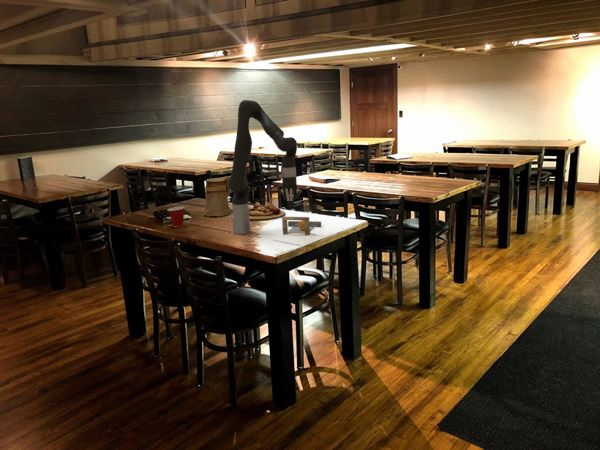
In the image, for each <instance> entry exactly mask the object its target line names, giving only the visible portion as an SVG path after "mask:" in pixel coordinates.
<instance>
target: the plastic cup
mask: <svg viewBox="0 0 600 450" xmlns="http://www.w3.org/2000/svg"><path fill="white" fill-rule="evenodd" d="M167 212H168V214H169V216H170V220H171V223H172V225H173V227H174V226H181V225H183V226H184V217H185V216H184V213H185V206H175V207H171V208H168V209H167Z"/></svg>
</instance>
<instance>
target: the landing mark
mask: <svg viewBox="0 0 600 450" xmlns="http://www.w3.org/2000/svg"><path fill="white" fill-rule="evenodd" d="M314 228H315V227H310V233H311V231H313V230H314ZM288 234H305V230H301V229H300V228H299V227H291V228H290V229H289V230H288Z"/></svg>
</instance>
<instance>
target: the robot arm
mask: <svg viewBox="0 0 600 450" xmlns="http://www.w3.org/2000/svg"><path fill="white" fill-rule="evenodd" d="M237 111H238V112H237V128H236V136H235V143H234V152H233V160H232V161H233V162H232V168H231V172H230V178H229V180H230V181H229V187H230V191H231V192H233V195H232V199H231V205H232V217H231V223H232V224H231V225H232V234H235V235H247V234H250V233H251V221H250V219H249V208H250V207H249V198H250V191H249V189H250V188H249V181H248V179H247V177H246V176H245V173H246V167H247V165H248V163H249V160H250V157H251V154H252V149H253V147H252V146H253V139H252V135H251V133H250V128H249V127H250V125H249V124H250V119H255V120H256V121H257V122H258V123H260V125H261V126H262V129H263V131H264V132H265V133H266V135H268V137H270V138H271V139H272V140H273V142H274V144H275V146H276V147H277V149H279V151H281V152H283V153H284V152H285V155H283V156H282V157H281V169H282V170H281V177H282V178H281V179H282V180H281V181H282V186H281V189H279V190H278V194H279V195H280V196H281V197H282V199H284V201H287V207H288V208H290V209H293V208H294V205H295V204H294V201H295V200H297V198H298V197H299V196H300V194H301V193H302V192H303V191H302V190H301V189H299V187H298V185H297V184H298V181H297V168H296V157H297V151H298V142H297V140H296V139H295V138H294V137H293V136H290V137H285V132H284V131H283V130H282V129H281V127H280V126H278V125H277V124H276V123H275V122H274V121H273V120H272V119H271V118H270V117H269V115H268V114H267V113H266V111H265V110H264V109H263V108H262V107H261V105H260V104H259V103H258V102H257V101H255V100H248V99H244V100H242V101H241V102H240V103H239V105H238V110H237ZM295 193H296V194H295Z"/></svg>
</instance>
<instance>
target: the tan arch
mask: <svg viewBox="0 0 600 450" xmlns="http://www.w3.org/2000/svg"><path fill="white" fill-rule="evenodd" d="M302 220H305V233H304V235H305V236H310V234H311V232H310V222H309V221H310V217H309V216H283V217H281V223H282V235H284V236H285V235H288V234H289V233H288V231H289V230H288V228H289V227H288V221H302Z"/></svg>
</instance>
